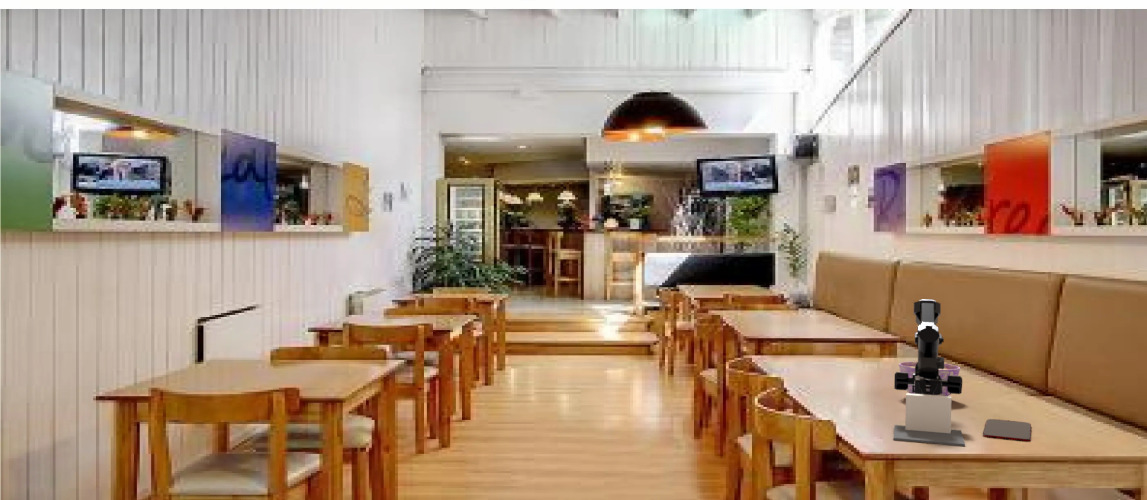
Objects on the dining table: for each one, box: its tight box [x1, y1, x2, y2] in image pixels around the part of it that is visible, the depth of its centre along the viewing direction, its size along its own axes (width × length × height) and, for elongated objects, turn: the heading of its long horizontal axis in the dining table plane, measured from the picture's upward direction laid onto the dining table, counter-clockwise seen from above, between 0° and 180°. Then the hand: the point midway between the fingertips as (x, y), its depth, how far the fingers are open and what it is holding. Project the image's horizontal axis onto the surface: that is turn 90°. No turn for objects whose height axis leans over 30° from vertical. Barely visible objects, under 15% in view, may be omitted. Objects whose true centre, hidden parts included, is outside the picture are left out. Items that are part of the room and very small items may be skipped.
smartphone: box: [982, 418, 1032, 443], centre depth 262 cm, size 12×2×25 cm
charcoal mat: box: [892, 424, 966, 447], centre depth 253 cm, size 19×18×1 cm
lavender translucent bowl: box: [898, 361, 961, 396], centre depth 315 cm, size 20×20×12 cm
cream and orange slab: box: [904, 392, 952, 433], centre depth 258 cm, size 3×12×10 cm, turn 70°
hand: (927, 406), depth 264 cm, fingers closed
